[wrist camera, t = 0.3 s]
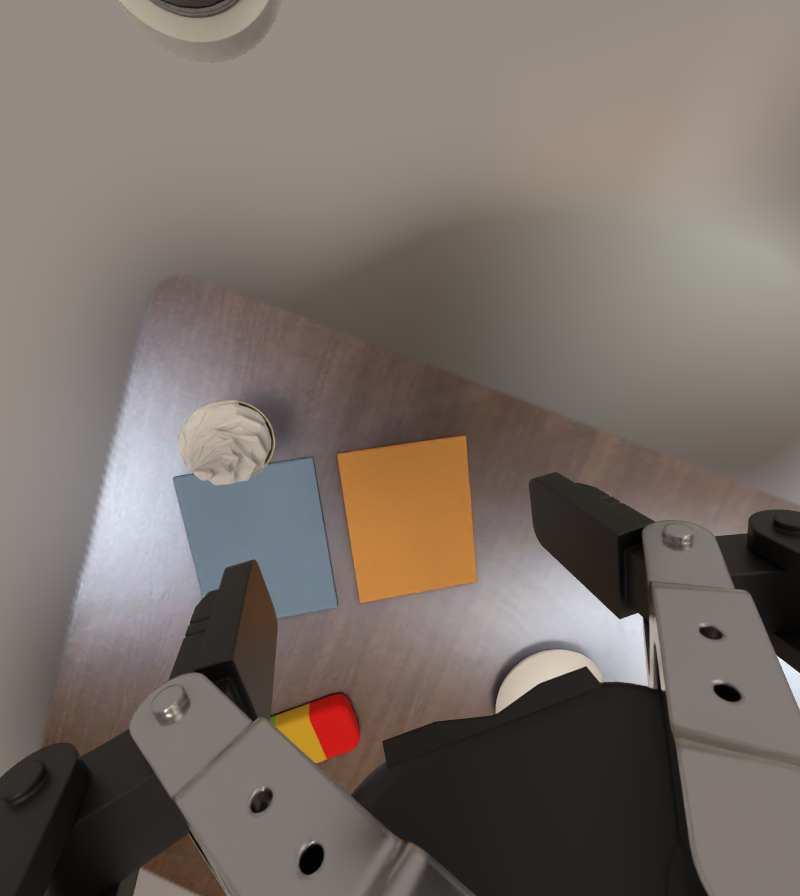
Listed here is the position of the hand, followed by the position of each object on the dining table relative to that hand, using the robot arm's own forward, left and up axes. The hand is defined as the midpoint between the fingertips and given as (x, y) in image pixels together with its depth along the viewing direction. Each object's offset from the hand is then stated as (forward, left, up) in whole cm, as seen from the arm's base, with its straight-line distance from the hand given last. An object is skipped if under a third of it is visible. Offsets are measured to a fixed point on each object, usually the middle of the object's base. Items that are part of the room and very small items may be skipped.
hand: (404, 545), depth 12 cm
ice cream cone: (-1, -8, -24) cm, 25 cm away
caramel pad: (+10, +3, -24) cm, 26 cm away
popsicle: (+30, -12, -24) cm, 40 cm away
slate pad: (+10, -10, -24) cm, 27 cm away
